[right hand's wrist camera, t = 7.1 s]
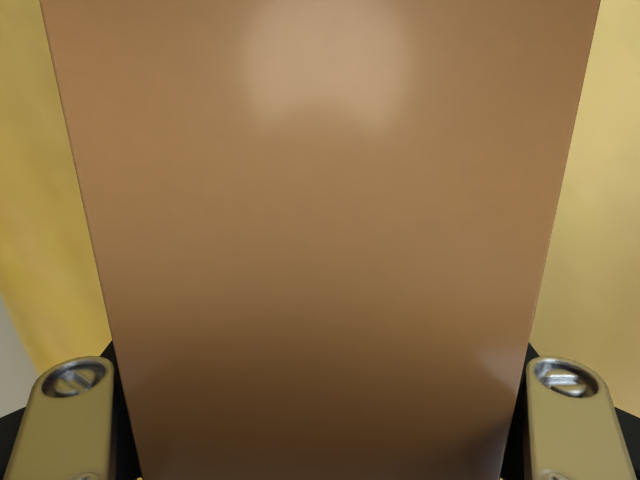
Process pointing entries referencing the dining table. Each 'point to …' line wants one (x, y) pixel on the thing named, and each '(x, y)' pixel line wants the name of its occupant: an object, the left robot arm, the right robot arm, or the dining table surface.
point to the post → (320, 222)
